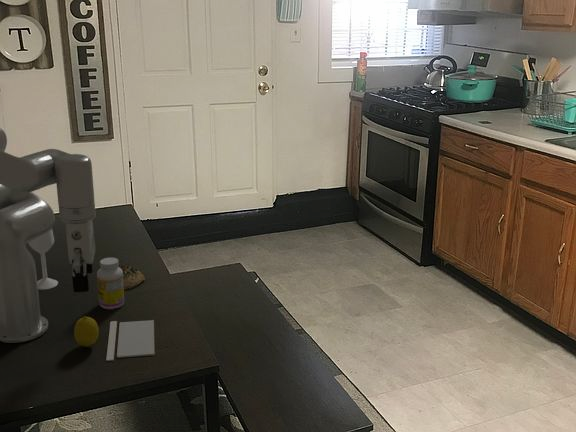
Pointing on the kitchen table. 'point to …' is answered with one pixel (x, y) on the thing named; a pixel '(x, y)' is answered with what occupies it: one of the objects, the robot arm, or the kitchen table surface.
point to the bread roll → (131, 277)
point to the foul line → (111, 341)
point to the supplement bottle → (110, 284)
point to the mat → (136, 339)
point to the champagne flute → (42, 247)
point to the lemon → (86, 331)
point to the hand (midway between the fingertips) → (83, 282)
